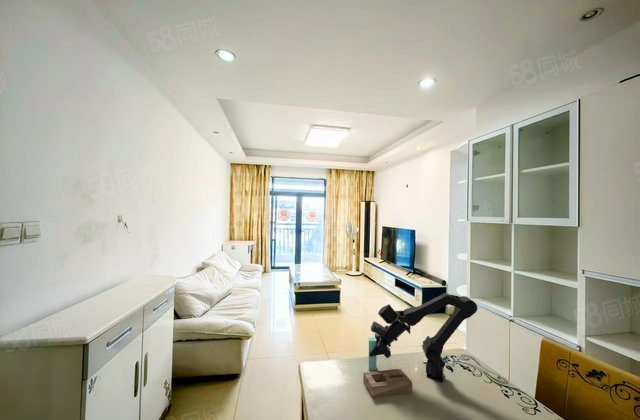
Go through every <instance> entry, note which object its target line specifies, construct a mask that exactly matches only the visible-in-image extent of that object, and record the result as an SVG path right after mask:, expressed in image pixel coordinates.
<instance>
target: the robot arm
mask: <svg viewBox="0 0 640 420" xmlns="http://www.w3.org/2000/svg"><path fill="white" fill-rule="evenodd" d="M448 305H450V306H452V307H454V308H453V311H452V313H451V314H450V315H449V317H448V319H446V321H445V322H444V323H443V325H442V326H441V327H440V328H439V330H438V331H437V332H436V334H435V335H433V336H432V337H430V336H429V335H427V336H426V338H425V339H424V340H423V341H422V344H421V347H422V352H423V353H424V356H425V357H426V359H427V361H426V362H425V374H426V376H425V377H426V378H428V379H432V380H434V381H437V382H440V383H443V382H444V378H445V372H444V371H445V369H444V368H445V366H446V361H444V359H443V356H442V354H443V350H444V346H445V344H446V343H447V342H448V340H450V338H451V337H452V336H453V334H454V333H455V331H456V330H457V329H458V328H459V326H460V325H461V324H462V323H463V322H464V321H466V320H467V319H468V318H471V317H472V316H473V315H475V314H476V313H477V311H478V309H479V308H478V305H477V303H476V302H475V301H474V300H473V299H471V298H470V297H468V296H459V295H455V294H450V293H447V292H444V293H442V294H441V295H440V294H439V296H436V297H434V298H433V299H431V300H429V301H427V302H425V303H423V304H420V305H419V306H411V307H408V308H405V309H404V310H395V308H393V307H392V306H391V305H390V304H389V303H388V304H387V305H384V306H382V307H381V308H380V309H379V310H378V313H377V314H378V315H379V317H380V318H381V319H382V320H383V322H385V323H386V324H388V325H385V326H383V325H382V324H381V323H378V322H377V321H373V322H372V324H371V326H370V331H371V332H372V333H374V338H376V346H375V347H374V349H373V350H372V351H371V352H370V354H369V353H368V357H369V356H370V357H372V356H376V357H377V356H385V358H387V359H389V358H391V356H392V354H391V352H392V351H391V346H392V343H394V342H397V341H398V338H399V337H400V336H401V335H402V334H404V333H405V332H407V333H408V334H410V335H411V328H412V327H414V326H416V325H417V324H419V323H420V322H421V321H422V320H423V319H424V317H426V316H428V315H430V314H432V313H434V312H436V311H437V310H438V311H439V310H440V309H442V308H444V307H446V306H448Z"/></svg>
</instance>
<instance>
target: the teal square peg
mask: <svg viewBox="0 0 640 420" xmlns="http://www.w3.org/2000/svg"><path fill="white" fill-rule="evenodd" d="M375 346H376V338H375V337H370V336H369V337H368V370H369V369H370V370H369V371H374V370H376V371H377V356H372V357H370V356H369V354H370V352H371V351H372V350H373V349H374V347H375Z"/></svg>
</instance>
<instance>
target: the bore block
mask: <svg viewBox="0 0 640 420" xmlns="http://www.w3.org/2000/svg"><path fill="white" fill-rule="evenodd" d="M363 384H364V386H365V388H366V389H367V391H368V393H369V395H370V397H371V398H380V397H389V396H396V395H402V394H403V395H405V394H410V393H412V394H413V381H412V379H410V378H409V377H408V375H406V373H405V371H403V370H402V368H396V369H385V370H376V371H374V370H372V371H365V372H363Z"/></svg>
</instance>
